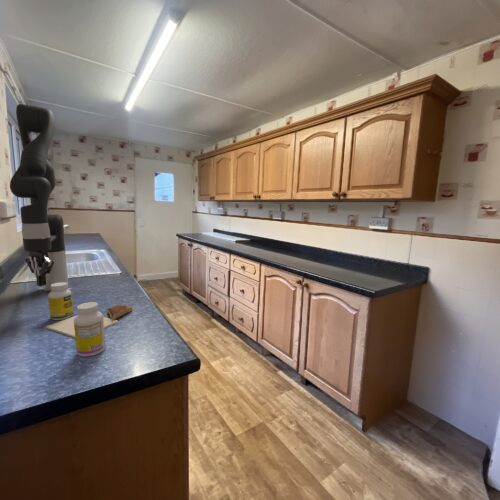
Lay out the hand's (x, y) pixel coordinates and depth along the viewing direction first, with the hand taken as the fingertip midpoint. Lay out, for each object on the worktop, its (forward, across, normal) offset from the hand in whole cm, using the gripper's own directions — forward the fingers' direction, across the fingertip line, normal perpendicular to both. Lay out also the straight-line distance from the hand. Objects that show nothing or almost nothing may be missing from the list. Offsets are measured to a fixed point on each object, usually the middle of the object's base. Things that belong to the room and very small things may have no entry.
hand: (42, 285), depth 95 cm
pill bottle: (+10, +10, 0) cm, 14 cm away
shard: (+10, +26, +10) cm, 30 cm away
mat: (+10, +22, -1) cm, 24 cm away
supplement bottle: (+10, +39, -10) cm, 41 cm away
